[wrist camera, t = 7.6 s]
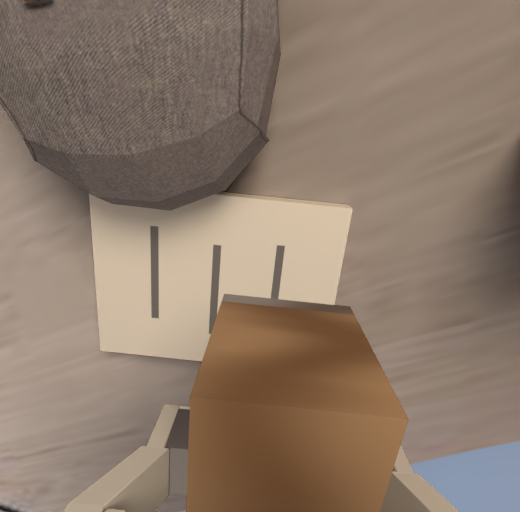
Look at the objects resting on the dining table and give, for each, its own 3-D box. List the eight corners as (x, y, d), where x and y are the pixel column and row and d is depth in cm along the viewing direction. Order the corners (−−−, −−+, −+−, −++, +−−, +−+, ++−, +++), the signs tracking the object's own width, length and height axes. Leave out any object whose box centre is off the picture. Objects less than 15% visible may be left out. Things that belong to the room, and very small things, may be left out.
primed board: (347, 204, 20) (352, 208, 19) (318, 360, 24) (321, 373, 23) (100, 179, 20) (88, 181, 19) (110, 339, 24) (100, 350, 23)
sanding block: (349, 306, 11) (408, 419, 6) (315, 471, 14) (339, 640, 9) (224, 293, 11) (190, 396, 6) (212, 460, 14) (182, 624, 9)
